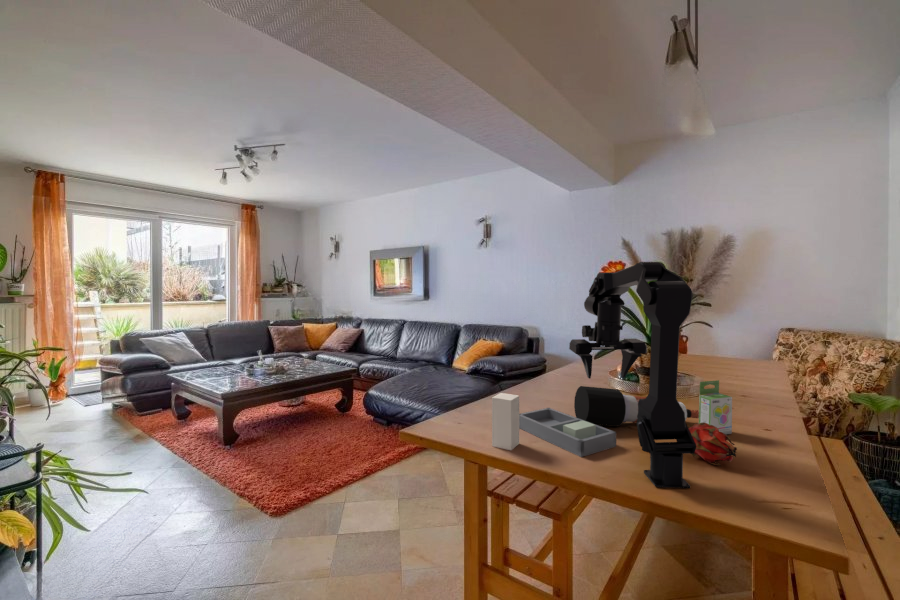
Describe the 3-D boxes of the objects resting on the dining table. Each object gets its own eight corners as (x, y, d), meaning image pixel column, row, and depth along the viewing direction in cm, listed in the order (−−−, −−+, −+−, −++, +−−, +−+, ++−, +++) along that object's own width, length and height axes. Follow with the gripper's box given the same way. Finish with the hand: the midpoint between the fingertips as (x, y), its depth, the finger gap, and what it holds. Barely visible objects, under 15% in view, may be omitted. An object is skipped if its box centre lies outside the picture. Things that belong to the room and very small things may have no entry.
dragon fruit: (688, 453, 97) (732, 484, 86) (666, 436, 95) (707, 466, 84) (710, 425, 97) (756, 452, 86) (688, 408, 95) (733, 433, 83)
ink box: (711, 437, 104) (711, 385, 103) (697, 431, 108) (698, 381, 107) (732, 434, 106) (733, 383, 105) (718, 429, 109) (719, 379, 109)
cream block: (519, 443, 100) (519, 395, 100) (511, 450, 96) (511, 400, 96) (500, 439, 103) (500, 392, 103) (492, 446, 99) (491, 397, 99)
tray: (616, 446, 98) (616, 428, 98) (580, 457, 92) (581, 437, 92) (548, 419, 118) (548, 404, 118) (516, 426, 112) (516, 410, 112)
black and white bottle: (700, 441, 113) (716, 414, 108) (581, 431, 111) (592, 403, 106) (681, 414, 122) (695, 388, 117) (571, 405, 120) (580, 378, 115)
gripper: (628, 314, 115) (625, 368, 117) (563, 315, 114) (561, 369, 116) (649, 322, 104) (646, 381, 106) (578, 322, 103) (575, 382, 105)
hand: (605, 377), depth 108 cm, fingers open, 9 cm apart
